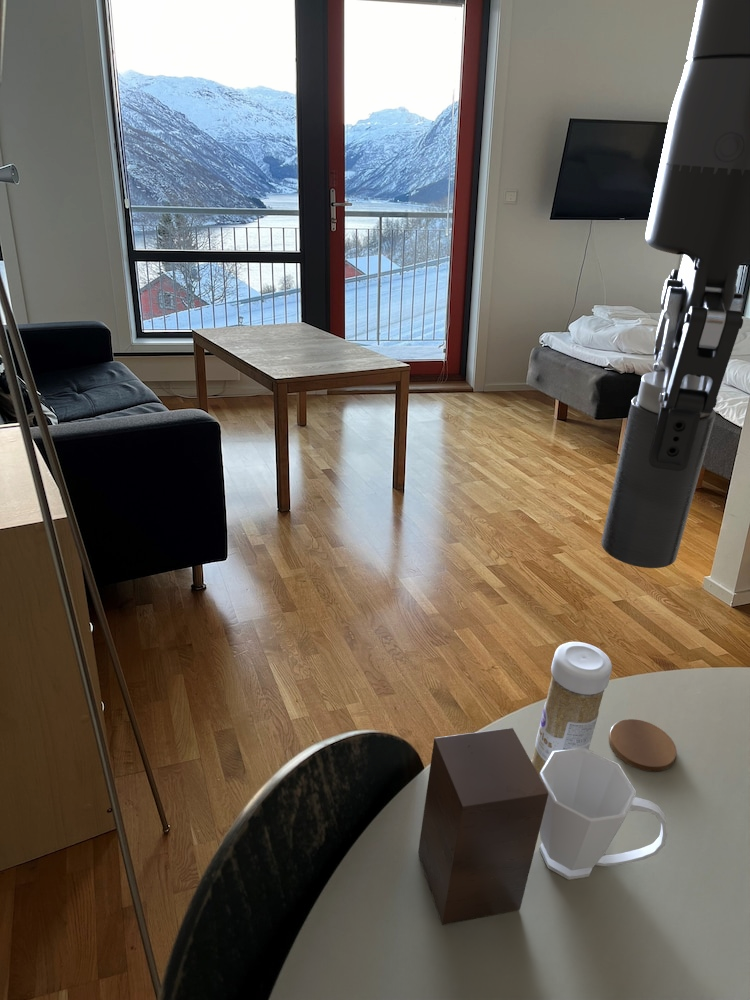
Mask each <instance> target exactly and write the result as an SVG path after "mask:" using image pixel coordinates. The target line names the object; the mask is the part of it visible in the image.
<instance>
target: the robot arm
mask: <svg viewBox="0 0 750 1000" xmlns="http://www.w3.org/2000/svg"><path fill="white" fill-rule="evenodd" d="M695 11H696V12H695V17H694V20H693V21H694V22H693V26H692V31H691V36H690V40H689V45H688V49H687V54H686V60H687V61H686V62H685V64H684V68H683V72H682V76H681V79H680V83H679V85H678V88H677V91H676V94H675V96H674V100H673V103H672V107H671V110H670V113H669V118H668V123H667V128H666V133H665V136H664V137H665V138H664V143H663V148H662V151H661V152H662V153H661V157H660V163H659V167H658V171H657V177H656V181H655V187H654V190H653V191H654V192H653V197H652V202H651V207H650V212H649V216H648V220H647V225H646V230H645V235H644V236H645V241H646V243H647V245H648V246H649V247H651V248H653V249H655V250H657V251H661V252H664V253H668V254H673V255H683V257H682V260H681V264H680V267H679V269H672V270H671V274H669V275H668V278H666V279H665V281H664V286H663V290H662V293H661V306H660V308H661V313H660V316H659V321H658V325H657V328H656V332H655V342H654V343H655V344H654V346H655V347H654V350H653V356H654V361H655V363H654V364H653V367H652V372H659V371H666V374H665V380H664V385H663V390H662V394H660V396H659V402H660V410H659V414H658V418H657V423H656V427H655V431H654V435H653V440H652V444H651V448H650V452H649V462H650V465H651V466H653V467H655V468H661V469H667V470H674V471H682V470H684V469H685V468H686V467H687V465H688V461H689V457H690V454H691V450H692V446H693V442H694V439H695V435H696V431H697V427H698V423H699V420H700V416H701V414H705V413H708V414H711V413H712V411H713V410H714V409H715V408H716V406H717V403H718V395H719V392H720V389H721V387H722V383H723V381H724V378H725V375H726V371H727V368H728V366H729V361H730V359H731V357H732V353H733V350H734V347H735V344H736V341H737V338H738V335H739V333H740V330H742V327H743V325H744V318H743V311H742V308H743V304H744V303H743V302H744V293H741V292H737V283H738V278H739V277H738V276H739V273H738V272H739V269H740V266H741V265H742V264H743V263H745V262H747V261H748V262H749V261H750V0H698V1H697V6H696V10H695ZM688 374H689V375H694V376H697V377H698V376H700V377H701V379H700V384H699V389H698V390H695V389H687V388H680V387H681V383H682V380H683V377H684V376H685V375H688Z"/></svg>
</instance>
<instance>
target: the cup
mask: <svg viewBox="0 0 750 1000" xmlns="http://www.w3.org/2000/svg"><path fill="white" fill-rule="evenodd" d="M539 777H540V779H541V780H542V782H543V784H544V786H545V788H546V789H547V791H548V793H549V794H548V798H547V802H546V806H545V810H544V814H543V818H542V822H541V826H540V831H539V837H540V841H541V843H540V845H539V848H538V850H539V852H540V854H541V856H542V858H543V861H544V863H545V865H546V868H547V869H549V870H550V871H552V872H554V873H555V874H558V875H559V876H561V877H563V878H564V879H567V880H569V881H570V880H576V879H583V878H589V877H590V876H591V873H592V870H593V868H594V867H595V866H601V867H612V866H613V867H615V866H622V865H627V864H632V863H635V862H640V861H643V860H647V859H649V858H651V857H653V856H656V855H657V854H659V853H660V851H661V850H663V848H664V847H665V845H666V841H667V838H668V830H667V829H668V828H667V821H666V815H665V813H664V812H663V810H661V808H660V807H659V805H658V804H656V803H655V802H652V801H651V800H649V799H644V798H640V797H636V794H637V791H636V789H635V788H634V787H635V786H633V784H632V783H631V781H630V780H629V778H628V776H627V775H626V773H625V771H624V769H623V768H622V767H621V765H620V764H619V763H617V762H615V761H613V760H612V759H609V758H607V757H604V756H603V755H601V754H599V753H597V752H594V751H592V750H590V749H589V750H588V749H586V748H578V749H569V750H560V751H553V752H552V753H551V755H550V757H549V758H548V760H547V762H546V763H545V765H544V767H543V768H542V770H541V772H540V776H539ZM629 812H645V813H650V814H652V815H654V816H655V818H656V819H657V820H658V821H659V822H660V831H659V836H658V837H657V838H656V839H655V840H654V841H653V842H652V843H651V844H647V845H646V846H643V847H641V848H637V849H633V850H629V851H625V852H620V853H613V854H605V853H606V852H607V850H608V848H609V847H610V845H611V843H612V841H613V840H614V838H615V836H616V835H617V833H618V832H619V829H621V826H622V824H623V823H624V820H626V817H627V815H628V813H629Z"/></svg>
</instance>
